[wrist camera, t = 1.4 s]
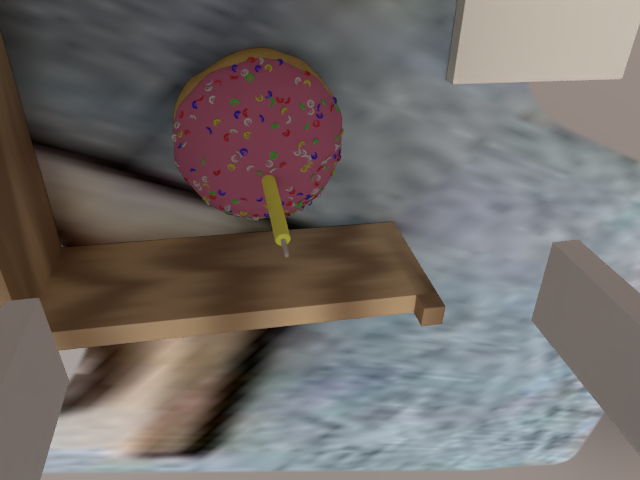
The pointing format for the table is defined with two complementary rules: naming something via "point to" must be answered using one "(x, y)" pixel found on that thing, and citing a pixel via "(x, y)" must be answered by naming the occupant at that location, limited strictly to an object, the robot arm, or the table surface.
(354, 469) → the table surface
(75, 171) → the table surface
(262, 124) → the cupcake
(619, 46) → the plate
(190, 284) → the brown open-sided frame
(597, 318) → the robot arm
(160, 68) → the table surface
